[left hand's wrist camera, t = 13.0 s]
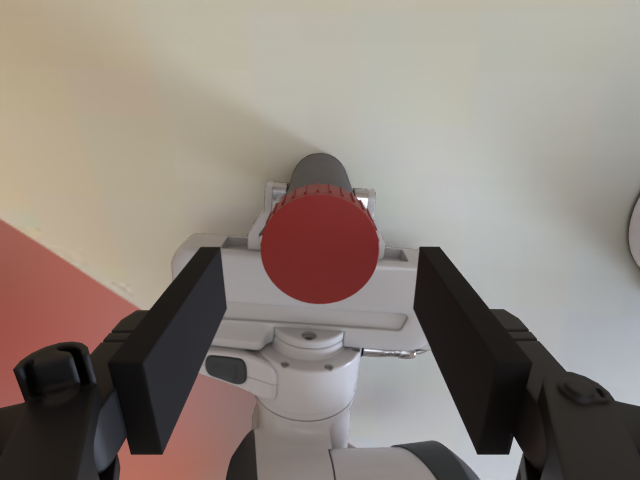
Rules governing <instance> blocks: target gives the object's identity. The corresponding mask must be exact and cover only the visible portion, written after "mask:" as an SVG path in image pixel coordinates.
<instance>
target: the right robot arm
mask: <svg viewBox="0 0 640 480" xmlns="http://www.w3.org/2000/svg"><path fill="white" fill-rule="evenodd" d="M287 190H288V183H283V182H273V181H268V182H267V183H266V186H265V202H264V208H263V210H262V211H261V213H260V214H259V216H258V217H257V219H256V220H255V222H254V223H253V225H252V227H251V229H250V231H249V233H248V237H244V236H231V235H217V234H204V233H195V234H193V235H191V236H190V237H189V238H188V239H187V240H186V241H185V242H184V243H183V244H182V245H181V246H180V247H179V248H178V249H177V251H176V252H175V254H174V256H173V258H172V264H171V265H172V280H174V279H175V278H176V277H177V276H178V274H179V273H180V272H181V271H182V269H183V268H184V267H185V266H186V264H187V263H188V262H189V261H190V259H191V258H192V257H193V256H194V254H195V253H196V252H197V251H198V249H199V248H200V247H220V248H221V257H222V266H223V276H224V285H225V295H226V304H227V310H226V312H225V314H224V316H223V319H222V321H221V323H220V326H219V328H218V330H217V332H216V335H215V337H214V339H213V341H212V344H211V346H210V348H209V350H208V353H207V355H206V357H205V359H204V362H203V364H202V366H201V368H200V371H199V374H201V375H204V376H207V377H210V378H213V379H217V380H219V381H223V382H225V383H228V384H231V385H234V386H236V387H239V388H241V389H243V390H246V391H248V392H250V393H252V394H254V395H255V397H256V400H257V403H256V406H255V408H254V412H253V416H252V430H251V431H250V432H249V433H248V434H247V435H246V437H245V438H244V439H243V441H242V442H241V444H240V445H239V447H238V448H237V450H236V451H235V453H234V454H233V456H232V458H231V460H230V464H229V467H228V471H227V476H226V480H480V479H479V477H478V476H477V475H476V474H475V473H474V471H473V470H472V469H471V468H470V467H469V466H468V465H467V464H466V463H465V462H464V461H463V460H462V459H460V458H459V457H458V456H457V455H456V454H454V453H453V452H452V451H451V450H449V449H448V448H447V447H445V446H444V445H443V444H441V443H439V442H437V441H425V442H417V443H409V444H401V445H394V446H391V447H383V448H347V444H348V438H349V432H350V415H349V410H348V409H349V407H350V406H351V404H352V402H353V399H354V396H355V391H356V384H357V377H358V371H359V364H360V357H361V356H370V357H398V358H402V359H411V358H415V356H416V354H421V353H424V352H426V351H428V350H430V349H431V348H430V346H429V344H428V341H427V339H426V337H425V335H424V332H423V330H422V328H421V326H420V323H419V321H418V319H417V316H416V314H415V312H414V310H413V304H414V295H415V285H416V276H417V266H418V257H419V249H407V248H393V247H385V242H384V240H383V237H382V235H381V233H380V230H379V228H378V226H377V224H376V221H375V219H374V217H373V216H374V209H375V201H376V193H375V191H374V189H361V188H353V193H354V196H355V197H356V198H357V199H358V200H360V199H361V200H362V203H363V205H364V207H365V208H366V209H367V208H368V210H369V212H370V214H371V217H372V218H373V221H374V223H375V225H376V228H377V231H376V232H377V235H378V238H379V240H380V242H379V259H378V263H377V266H376V269H375V271H374V273H373V275H372V277H371V278H370V280H369V281H368V282H367V283H366V285H365V286H364V287H363V288H362V289H360V290H359V291H358V292H357V293H355V294H354V295H352V296H350V297H348V298H346V299H344V300H341V301H339V302H334V303H329V304H311V303H306V302H301V301H299V300H296V299H294V298H292V297H290V296H288V295H286V294H285V293H283V292H282V291H281V290H280V289H278V288H277V287H276V286H275V284H274V283H273V282H272V281H271V280H270V278H269V277H268V275H267V273H266V271H265V269H264V266H263V263H262V259H261V246H260V244H261V240H262V231H263V229H264V227H265V224H266V220H267V218H268V216H269V214H270V212H272V211H273V209H274V206H275V204H276V203H279V202H280V201H281V200H282V199H283V196H284V195H286V193H287ZM629 246H630V250H631V253H632V256H633V258H634V260H635V262H636V264H637V265H638V266H639V268H640V197H639V199H638V201H637V203H636V205H635V208H634V210H633V213H632V217H631V221H630V226H629Z"/></svg>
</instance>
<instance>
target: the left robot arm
mask: <svg viewBox="0 0 640 480" xmlns="http://www.w3.org/2000/svg"><path fill="white" fill-rule="evenodd" d="M226 310H227V304H226V295H225V285H224V276H223V266H222V257H221V248H220V247H200V248H199V249H198V251H197V252H196V253H195V254H194V256H193V257H192V258H191V259H190V261H189V262H188V263H187V264H186V266H185V267H184V268H183V269H182V271H181V272H180V273H179V274H178V276H177V277H176V278H175V279H174V280H173V282H172V283H171V284H170V285H169V287H168V288H167V289H166V290H165V292H164V293H163V294H162V295H161V297H160V298H159V299H158V300H157V302H156V303H155V304H154V305H153V307H152V308H151V309H150V310H137V311H135V312H133V313H132V314H130V315H129V316H127V317H125V318H124V319H122V320H121V321H120V322H119V323H118V324H117V326H116V327H115V328H114V329H113V330H112V333H109V334H108V336H107V337H106V338H105V339H104V340H103V342H102V343H100V344H99V346H98V347H97V348H96V349H95V350H94V351H93V352H92V354H91V355H90V354H89V350H88V347H87V346H85V345H84V344H83V343H78V342H64V343H58V344H54V345H51V346H47V347H44V348H42V349H40V350H38V351H36V352H33V353H31V354H30V355H28V356H27V357H26V358H24V359H23V360H21V361H20V362H19V363H18V364H17V366H16V367H15V368H14V369H13V371H14V373H15V376H16V379H17V381H18V384H19V387H20V389H21V392H22V395H23V397H24V400H25V402H24V403H21V404H17V405H12V406H8V407H3V408H0V480H119V475H120V463H119V459H118V455H117V453H118V451H119V449H120V448H121V446H122V444H123V443H124V441H125V439H126V437H127V441H128V445H129V449H130V453H131V454H132V455H133V454H135V455H137V454H138V455H141V454H142V455H143V454H144V455H147V454H148V455H151V454H154V455H158V454H159V455H162V454H163V452H164V450H165V448H166V445H167V443H168V441H169V439H170V436H171V434H172V432H173V429H174V427H175V425H176V423H177V420H178V418H179V416H180V414H181V411H182V409H183V407H184V404H185V402H186V400H187V398H188V396H189V393H190V391H191V389H192V386H193V384H194V382H195V380H196V377H197V375H198V373H199V371H200V368H201V366H202V364H203V362H204V359H205V357H206V355H207V353H208V350H209V348H210V346H211V344H212V341H213V339H214V337H215V335H216V332H217V330H218V328H219V326H220V323H221V321H222V319H223V316H224V314H225V312H226ZM413 310H414V312H415V314H416V316H417V319H418V321H419V323H420V326H421V328H422V330H423V332H424V335H425V337H426V339H427V341H428V344H429V346H430V348H431V350H432V353H433V355H434V357H435V359H436V362H437V364H438V366H439V368H440V371H441V373H442V375H443V378H444V380H445V382H446V384H447V387H448V389H449V391H450V393H451V396H452V398H453V400H454V402H455V405H456V407H457V409H458V411H459V414H460V416H461V418H462V420H463V423H464V425H465V427H466V429H467V432H468V434H469V436H470V439H471V441H472V443H473V445H474V448H475V450H476V452H477V454H478V455H509V453H510V449H511V445H512V441H513V437H515V439H516V441H517V442H518V444H519V446H520V448H521V449H522V451H523V455H522V458H521V462H520V466H519V469H518V473H517V476H516V480H640V406H635V405H631V404H626V403H622V402H618V401H615V400H614V399H613V397H612V396H611V394H610V393H609V392H608V391H607V390H606V389H604V388H603V387H602V386H601V385H599V384H598V383H596V382H594V381H593V380H591V379H589V378H587V377H585V376H582V375H579V374H576V373H573V372H566V371H565V369H564V368H563V367H562V366H561V365H560V364H559V363H558V362H557V361H556V359H555V358H554V357H553V356H552V355H551V354H550V353H549V352H548V351H547V349H546V348H545V347H544V346H543V345H542V344H541V343H540V342H539V341H537V338H536V337H535V336H534V335H533V334H532V333H531V332H529V330H528V328H527V327H526V326H525V325H524V324H523V323H522V322H521V321H520V320H519V319H518V318H517V317H515V316H514V315H512V314H510V313H509V312H507V311H506V310H504V309H489V308H488V307H487V305H486V304H485V303H484V302H483V300H482V299H481V298H480V297H479V295H478V294H477V293H476V292H475V290H474V289H473V288H472V287H471V285H470V284H469V283H468V282H467V280H466V279H465V278H464V277H463V276H462V274H461V273H460V272H459V271H458V269H457V268H456V267H455V266H454V264H453V263H452V262H451V261H450V259H449V258H448V257H447V256H446V254H445V253H444V252H443V251H442V249H441V248H440V247H420V248H419V257H418V266H417V276H416V285H415V295H414V304H413Z"/></svg>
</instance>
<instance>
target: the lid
mask: <svg viewBox="0 0 640 480" xmlns="http://www.w3.org/2000/svg"><path fill="white" fill-rule="evenodd" d="M376 231H377V228H376V225H375V223H374V221H373V218H372V217H371V214H370V212H369V210H368V208H367V209H366V208H365V207H364V205H363V203H362V200H361V199H360V200H358V199H357V198H356V197H355V196H354V195H353V193H352V192H351V193H349V192H348V191H346V190H344V189H343V187H340V188H339V187H336V186H332V185H331V184H329V185H326V184H319V183H317V184H314V185H308V186H307V184H306V185H305V186H304V187H301V188H298V189H296V188H295V189H293V191H292V192H291V193H289V194H288V195H284V196H283V199H282V200H281V201H280V202H279V203H276V204H275V206H274V209H273V211H272V212H270V214H269V216H268V218H267V220H266V224H265V227H264V229H263V231H262V240H261V244H260V246H261V259H262V263H263V266H264V269H265V271H266V273H267V275H268V277H269V278H270V280H271V281H272V282H273V283H274V284H275V286H276V287H277V288H278V289H280V290H281V291H282V292H283V293H285V294H286V295H288V296H290V297H292V298H294V299H296V300H299V301H301V302H306V303H311V304H329V303H334V302H339V301H341V300H344V299H346V298H348V297H350V296H352V295H354V294H355V293H357V292H358V291H359V290H360V289H362V288H363V287H364V286H365V285H366V283H367V282H368V281H369V280H370V278H371V277H372V275H373V273H374V271H375V269H376V266H377V263H378V259H379V242H380V240H379V238H378V235H377V232H376Z"/></svg>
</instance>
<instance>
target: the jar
mask: <svg viewBox="0 0 640 480" xmlns="http://www.w3.org/2000/svg"><path fill="white" fill-rule="evenodd" d="M317 183H319V184H326V185H329V184H331V185H332V186H336V187H339V188H340V187H343V189H344V190H346V191H348V192H349V193H351V192H352V193H353V190H352V188H351V185H350V182H349V179H348V176H347V174H346V171H345V168H344V167H343V165H342V164H341V162H340V161H339V160H337V159H336V158H335V157H333V156H331V155H329V154H324V153H315V154H311V155H309V156H307V157H305V158H304V159H302V160H301V161H300V162H299V163H298V165H297V166H296V168H295V170H294V173H293V176H292V179H291V182H290V184H289V187H288V190H287V193H286V195H288V194H289V193H291V192H292V191H293V189H295V188H296V189H298V188H301V187H304V186H305V185H306V184H307V186H308V185H314V184H317ZM353 195H354V193H353Z"/></svg>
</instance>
